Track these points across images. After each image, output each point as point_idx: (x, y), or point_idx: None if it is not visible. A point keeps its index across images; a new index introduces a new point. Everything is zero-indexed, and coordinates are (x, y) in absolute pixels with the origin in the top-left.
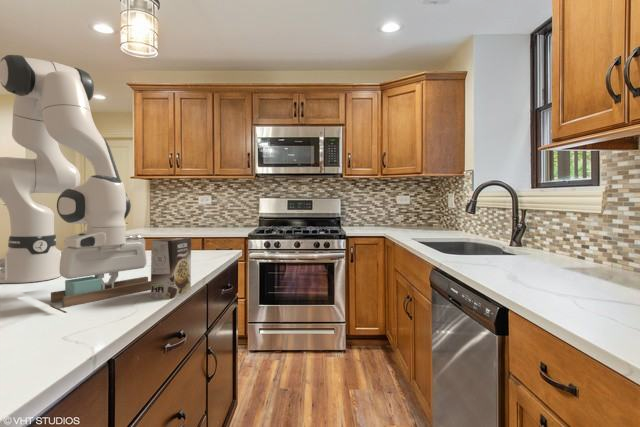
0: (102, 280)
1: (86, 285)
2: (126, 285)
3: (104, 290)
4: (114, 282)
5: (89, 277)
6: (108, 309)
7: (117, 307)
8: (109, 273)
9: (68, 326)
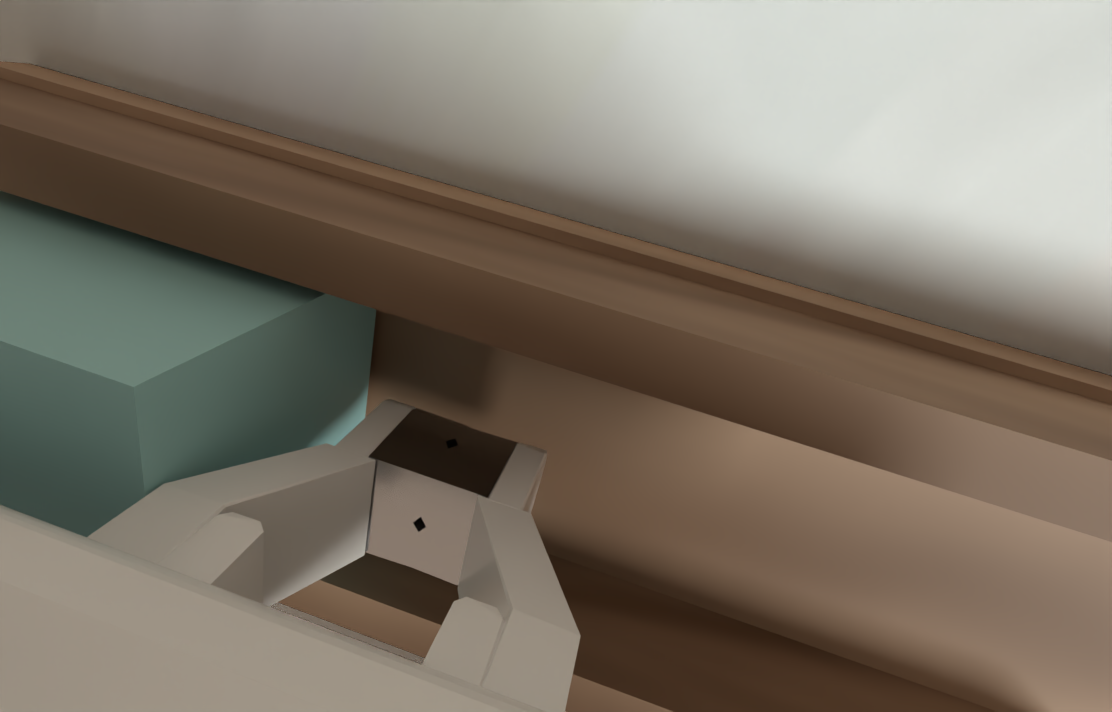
0: (274, 598)
1: None
2: (605, 693)
3: (299, 608)
4: (713, 408)
5: (65, 432)
6: (320, 619)
7: (385, 644)
8: (430, 653)
9: None
